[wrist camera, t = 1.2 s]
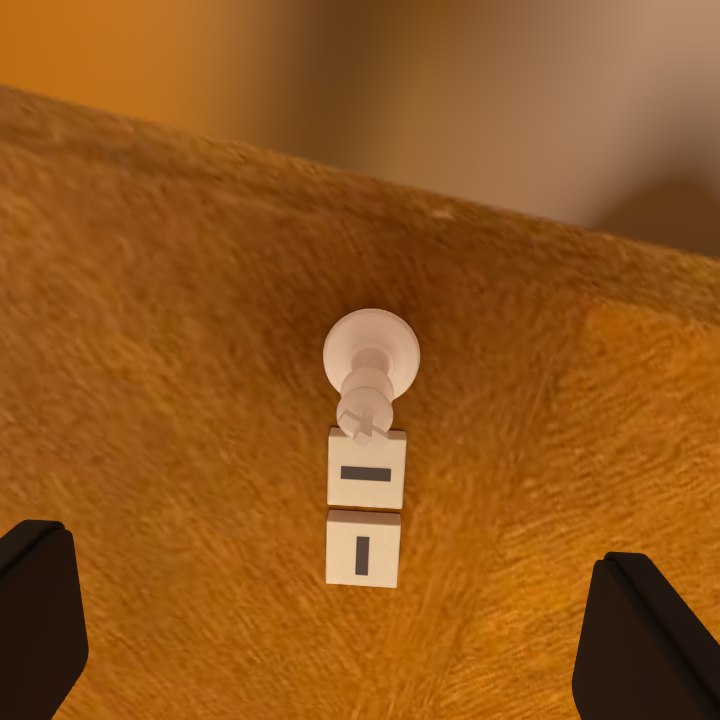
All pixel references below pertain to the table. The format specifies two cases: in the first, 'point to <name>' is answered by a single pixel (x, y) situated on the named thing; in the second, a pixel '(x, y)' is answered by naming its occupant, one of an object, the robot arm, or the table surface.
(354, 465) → the cream flat block
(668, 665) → the robot arm
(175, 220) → the table surface
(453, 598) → the table surface
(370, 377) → the chess piece
